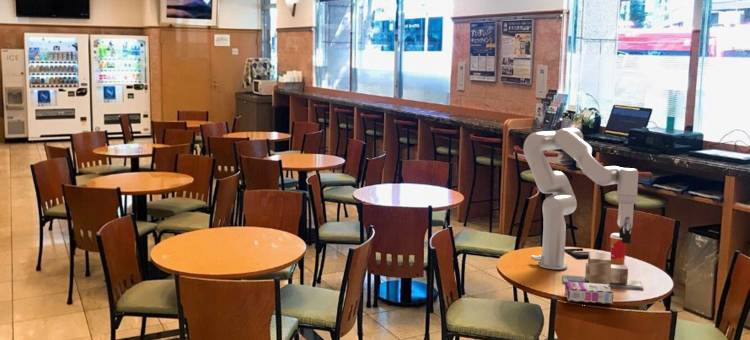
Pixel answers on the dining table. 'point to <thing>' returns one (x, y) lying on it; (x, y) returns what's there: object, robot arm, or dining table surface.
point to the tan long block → (601, 273)
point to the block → (613, 273)
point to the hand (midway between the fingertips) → (624, 240)
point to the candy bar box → (589, 292)
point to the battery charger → (577, 253)
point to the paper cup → (617, 249)
